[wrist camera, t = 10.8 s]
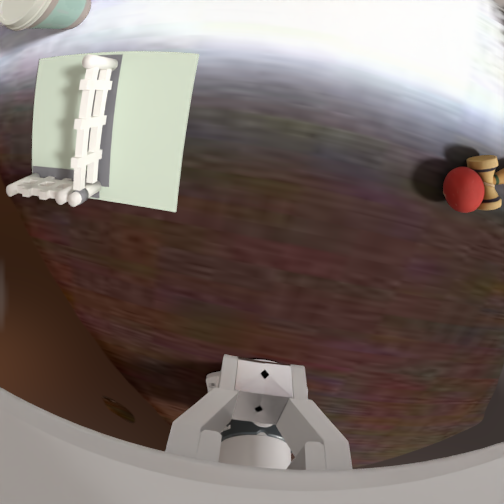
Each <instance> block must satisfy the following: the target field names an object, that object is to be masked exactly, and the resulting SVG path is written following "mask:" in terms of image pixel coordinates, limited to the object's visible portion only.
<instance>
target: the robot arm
mask: <svg viewBox="0 0 504 504" xmlns="http://www.w3.org/2000/svg"><path fill="white" fill-rule="evenodd" d="M206 384H207V389H208V393H207V394H206V395H205V396H204V397H203V398H201V399H200V400H199V401H198V402H197V403H195V404H194V405H193V406H192V407H191V408H189V409H188V410H187V411H186V412H185V413H183V414H182V415H181V416H180V417H178V418H177V419H176V420H175V421H173V424H172V428H171V431H170V435H169V440H168V443H167V447H166V451H165V452H163V451H160V450H156V449H151V448H148V447H144V446H141V445H137V444H133V443H130V442H127V441H124V440H120V439H117V438H114V437H111V436H108V435H105V434H102V433H99V432H97V431H94V430H91V429H88V428H86V427H83V426H80V425H78V424H75V423H73V422H70V421H68V420H66V419H63V418H61V417H58V416H56V415H54V414H52V413H50V412H47V411H45V410H43V409H41V408H39V407H37V406H35V405H33V404H31V403H28V402H27V401H25V400H23V399H21V398H19V397H17V396H15V395H13V394H11V393H10V392H8V391H6V390H4V389H2V388H1V387H0V504H504V442H502V443H499V444H496V445H492V446H489V447H486V448H482V449H479V450H475V451H471V452H467V453H463V454H459V455H454V456H450V457H445V458H440V459H435V460H430V461H424V462H418V463H411V464H405V465H397V466H388V467H379V468H366V469H352V463H351V456H350V449H349V443H348V441H347V440H346V438H345V437H344V436H343V435H342V434H341V433H340V432H339V431H338V429H337V428H336V427H335V426H334V425H333V424H332V423H331V422H330V420H329V419H328V418H327V417H326V416H325V415H324V414H323V412H322V411H321V410H320V409H319V408H318V407H317V405H316V404H315V403H314V402H313V401H312V400H308V388H307V384H306V375H305V368H304V366H299V365H290V364H282V363H277V362H273V361H269V360H260V359H248V358H242V357H236V356H231V355H226V354H224V357H223V362H222V368H221V371H218V372H213V373H210V374H208V375H207V376H206ZM291 453H293V454H294V456H295V458H294V460H293V461H292V462H291Z"/></svg>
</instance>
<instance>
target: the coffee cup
mask: <svg viewBox="0 0 504 504" xmlns="http://www.w3.org/2000/svg"><path fill="white" fill-rule="evenodd" d="M90 8H91V0H0V22H1V23H2V24H4V25H5V26H6V27H7V28H9V29H11V30H14V31H20V30H23V29H25V28H47V29H71V28H74V27H76V26H78V25H79V24H80V23H81V22H82V21H83V20H84V19H85V18H86V16H87V15H88V13H89V11H90Z"/></svg>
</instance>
